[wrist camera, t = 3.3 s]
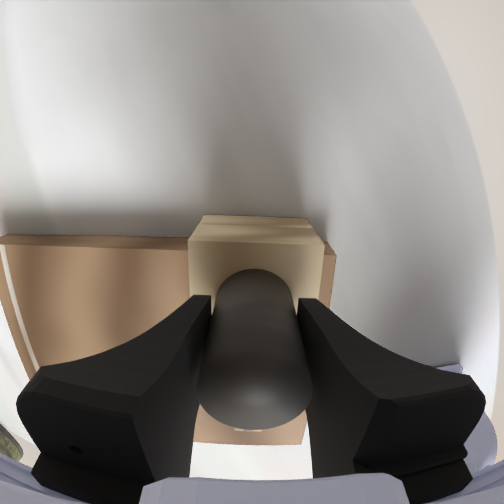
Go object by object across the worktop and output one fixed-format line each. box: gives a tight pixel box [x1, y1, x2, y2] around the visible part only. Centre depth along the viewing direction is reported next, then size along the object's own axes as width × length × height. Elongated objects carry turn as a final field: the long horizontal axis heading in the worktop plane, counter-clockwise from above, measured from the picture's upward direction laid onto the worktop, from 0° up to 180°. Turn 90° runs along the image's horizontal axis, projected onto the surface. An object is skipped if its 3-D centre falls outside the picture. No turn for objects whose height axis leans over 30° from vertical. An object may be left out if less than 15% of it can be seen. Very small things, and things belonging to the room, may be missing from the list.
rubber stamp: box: [188, 215, 325, 432], centre depth 13 cm, size 5×12×9 cm, turn 178°
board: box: [0, 235, 336, 445], centre depth 18 cm, size 20×14×2 cm
